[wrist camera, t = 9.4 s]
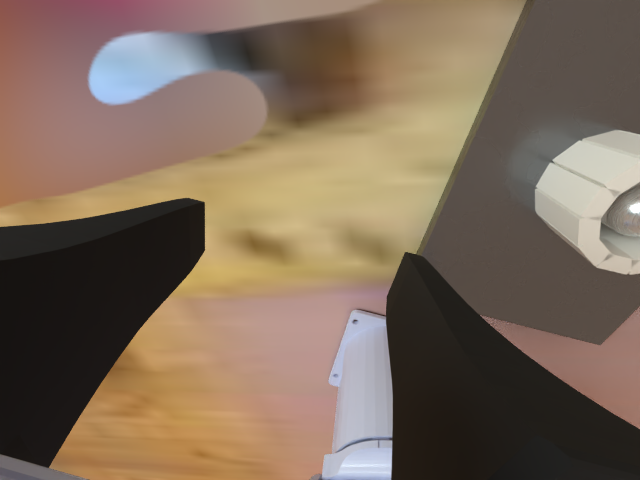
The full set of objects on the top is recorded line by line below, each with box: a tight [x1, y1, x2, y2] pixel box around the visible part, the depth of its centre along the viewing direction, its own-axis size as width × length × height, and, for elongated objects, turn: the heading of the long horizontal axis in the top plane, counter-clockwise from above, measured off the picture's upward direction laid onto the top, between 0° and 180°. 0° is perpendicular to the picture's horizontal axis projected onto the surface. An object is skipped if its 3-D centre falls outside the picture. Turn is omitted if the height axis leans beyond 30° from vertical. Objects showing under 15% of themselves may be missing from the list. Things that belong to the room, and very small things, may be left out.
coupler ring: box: [535, 130, 640, 275], centre depth 14 cm, size 6×6×4 cm
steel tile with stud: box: [416, 0, 640, 345], centre depth 14 cm, size 20×14×5 cm
